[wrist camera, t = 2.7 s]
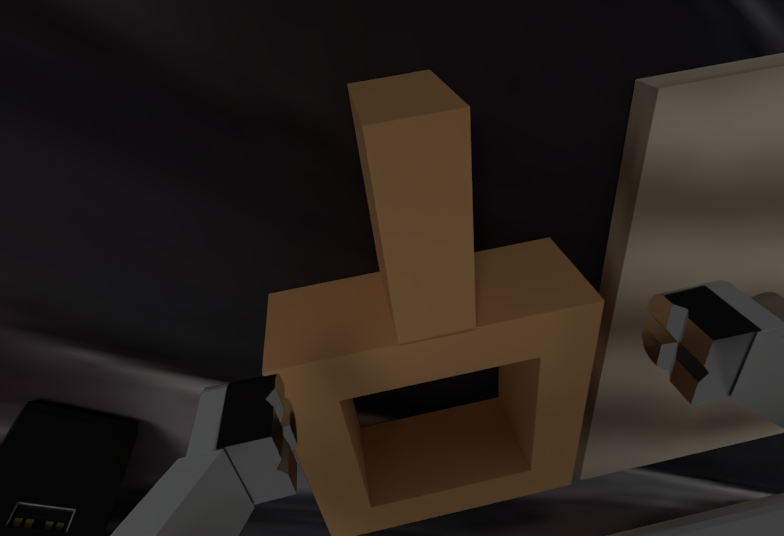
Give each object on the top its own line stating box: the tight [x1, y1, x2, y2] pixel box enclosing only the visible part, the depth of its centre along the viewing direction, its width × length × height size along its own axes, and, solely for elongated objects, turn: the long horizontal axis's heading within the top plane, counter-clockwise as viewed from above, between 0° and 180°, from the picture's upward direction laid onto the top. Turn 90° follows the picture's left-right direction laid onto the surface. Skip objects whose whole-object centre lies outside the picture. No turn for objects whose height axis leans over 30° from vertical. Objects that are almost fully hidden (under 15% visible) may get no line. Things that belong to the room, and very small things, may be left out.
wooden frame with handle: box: [262, 69, 605, 536], centre depth 17 cm, size 18×11×4 cm, turn 7°
